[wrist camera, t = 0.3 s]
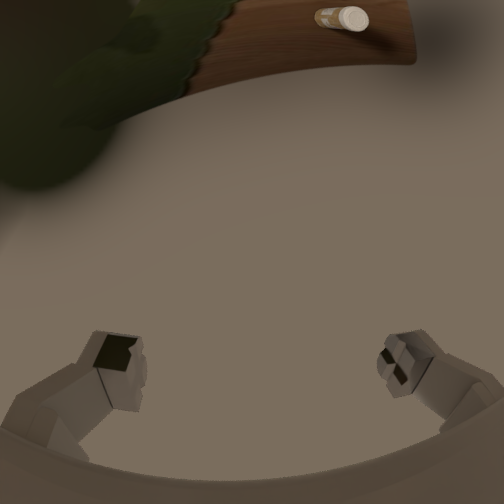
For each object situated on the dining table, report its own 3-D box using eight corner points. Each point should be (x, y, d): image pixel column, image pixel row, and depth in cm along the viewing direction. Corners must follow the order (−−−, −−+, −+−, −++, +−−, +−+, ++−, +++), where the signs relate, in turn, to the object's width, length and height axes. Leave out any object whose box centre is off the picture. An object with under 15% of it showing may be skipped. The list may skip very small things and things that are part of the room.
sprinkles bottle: (316, 28, 38) (345, 31, 29) (312, 8, 35) (341, 6, 26) (337, 27, 38) (371, 32, 29) (334, 8, 35) (367, 7, 26)
